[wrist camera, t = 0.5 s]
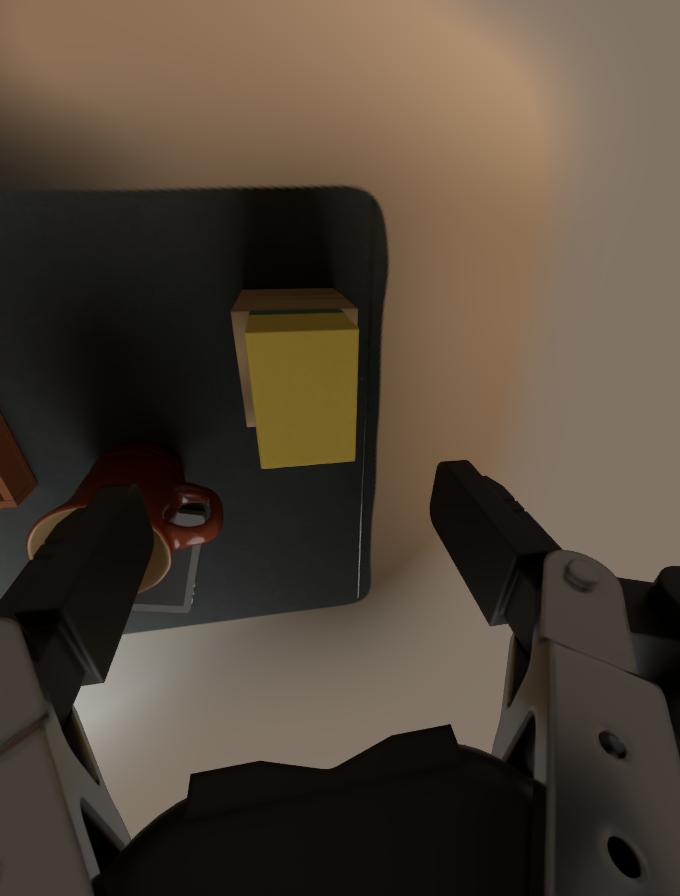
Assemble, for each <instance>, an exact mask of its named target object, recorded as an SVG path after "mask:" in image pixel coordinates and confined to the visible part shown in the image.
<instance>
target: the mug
mask: <svg viewBox="0 0 680 896" xmlns="http://www.w3.org/2000/svg"><path fill="white" fill-rule="evenodd" d="M121 484H137V485H138V486H139V488H140V490H141V493H142V497H143V500H144V503H145V506H146V509H147V512H148V516H149V519H150V522H151V525H152V528H153V533H154V547H153V552H152V555H151V558H150V561H149V564H148V566H147V569H146V572H145V574H144V577H143V580H142V582H141V585H140V588H139V590H138V593H137V594H139V593H142V592H144V591H146V590H148V589H150V588H152V587H153V586H155V585H156V584H158V583H159V582H160V581H161V580H162V579H163V578H164V577H165V575H166V574H167V572H168V571H169V569H170V567H171V565H172V554H173V551H174V550H177V549H183V548H186V547H189V546H194V545H199V544H203V543H206V542H208V541H210V540H212V539H213V538H215V537H216V536H217V535H218V533H219V532H220V530H221V528H222V524H223V507H222V503H221V500H220V498H219V497H218V495H217V494H216V493H215V492H214V491H212V490H211V489H209V488H206V487H203V486H200V485H196V484H193V483H189V482H185V475H184V471H183V468H182V466H181V464H180V462H179V461H178V460H177V459H176V458H175V457H174V456H173V455H171V454H170V453H169V452H167V451H166V450H164V449H162V448H160V447H157V446H155V445H151V444H147V443H128V444H124V445H120V446H118V447H116V448H114V449H112V450H111V451H109V452H108V453H106V454H105V455H104V456H102V458H100V459H99V460H98V461H97V462H96V463H95V464H94V465H93V466H92V468H91V470H90V472H89V473H88V474H87V476H86V477H85V478H84V480H83V481H82V482H81V484H80V485H79V487H78V489H77V490H76V492H75V493H74V495H73V496H72V497H71V498H70V499H69V500H68V501H67V502H65V503H64V504H62V505H61V506H59V507H57V508H56V509H54V510H52V511H51V512H49V513H47V514H46V515H44V516H43V517H42V518H40V519H39V520H38V521H37V522H36V523H35V524H34V525H33V526H32V528H31V529H30V531H29V533H28V535H27V539H26V553H27V556H28V559H29V561H30V560H32V559H33V555H34V554H35V553H36V551H37V550H38V549H39V547H40V546H41V545H42V544H44V541H45V539H46V538H47V536H48V535H49V534H50V532H51V531H52V530H53V528H54V527H55V526H56V524H57V523H58V522H60V521H61V520H62V519H64V518H65V517H66V516H68V515H69V514H70V513H72V512H73V511H74V510H76V509H77V508H85V507H86V506H87V504H88V503H89V501H90V500H91V498H92V497H93V496H94V494H95V493H96V491H97V490H98V488H99V487H101V486H108V485H121ZM189 503H204V504H206V505H208V506H209V507H210V508H211V514H210V518H209V519H208V520H207V521H206V522H205V523H203V524H201V525H197V526H180V525H177V524H175V523H174V521H175V519H176V516H177V514H178V511H179V508H180V507H181V506H182V505H185V504H189Z"/></svg>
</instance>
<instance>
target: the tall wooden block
mask: <svg viewBox="0 0 680 896" xmlns="http://www.w3.org/2000/svg"><path fill="white" fill-rule="evenodd" d="M304 309H341V310H342V311H343V312H344V313H345V315H346V316H347V317H348V318H349V319H350V320H351V321H352V322H353V323H354V324H355V325H356V326H357V325H358V308H357V307H356V306H354V305H353V304H352V303H351V302H350V301H348V300H347V299H346V298H345V297H344V296H343V295H341V294H340V293H339V292H338V291H337V290H336V289H334V288H309V289H253V290H242V291H241V293H240V295H239V297H238V299H237V301H236V303H235V305H234V307H233V308H232V310H231V319H232V326H233V333H234V340H235V347H236V354H237V361H238V368H239V375H240V382H241V389H242V396H243V403H244V410H245V417H246V424H247V427H255V426H256V424H255V416H254V409H253V401H252V393H251V385H250V377H249V370H248V362H247V354H246V346H245V339H244V331H245V328H246V324H247V320H248V315H249V312H250V311H265V310H304Z"/></svg>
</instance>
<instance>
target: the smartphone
mask: <svg viewBox="0 0 680 896" xmlns="http://www.w3.org/2000/svg"><path fill="white" fill-rule="evenodd" d="M205 518H206V514H205V512H203V511H196V510H188V509H179V511H178V514H177V516H176V519H175V521H174V523H175V524H177V525H180V526H197V525H201V524H203V523H205ZM200 548H201V544H199V545H194V546H189V547H186V548H183V549H177V550H174V551H173V554H172V565H171V567H170V569H169V571H168V572H167V574H166V575H165V577H164V578H163V579H162V580H161V581H160V582H159V583H158V584H156V585H155V586H153V587H152V588H150V589H148V590H146V591H144V592H142V593H139V594H137V596H136V598H135V601H134V604H133V607H132V609H131V611H151V612H174V613H188V612H189V611H190V608H191V604H192V601H193V598H192V597H193V595H194V591H195V590H194V587H195V584H196V582H195V579H196V572H197V566H198V560H199V554H200Z"/></svg>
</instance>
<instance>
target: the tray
mask: <svg viewBox="0 0 680 896" xmlns="http://www.w3.org/2000/svg"><path fill="white" fill-rule="evenodd" d="M37 485H38V484H37V482H36V480H35V478H34V476H33V474H32V472H31V470H30V468H29V466H28V464H27V463H26V461H25V459H24V457H23V455H22V453H21V451H20V449H19V447H18V445H17V443H16V441H15V439H14V437H13V436H12V434H11V432H10V430H9V428H8V426H7V424H6V422H5V420H4V418H3V416H2V414H1V412H0V508H8V507H17V506H19V504H20V503H21V502H22V501H23V500H24V499H25V498H26V497H27V496H28V495H29V494H30V493H31V492H32V491H33V489H34V488H35V487H36V486H37Z"/></svg>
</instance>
